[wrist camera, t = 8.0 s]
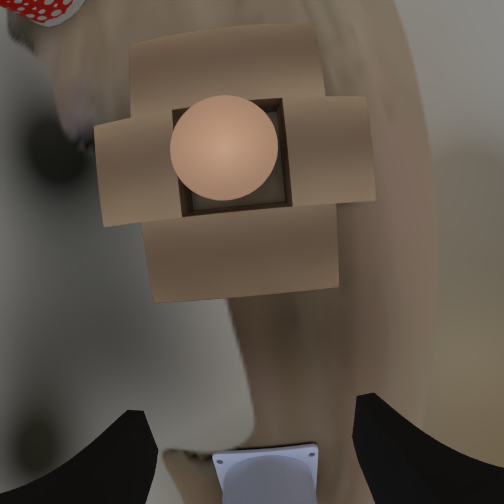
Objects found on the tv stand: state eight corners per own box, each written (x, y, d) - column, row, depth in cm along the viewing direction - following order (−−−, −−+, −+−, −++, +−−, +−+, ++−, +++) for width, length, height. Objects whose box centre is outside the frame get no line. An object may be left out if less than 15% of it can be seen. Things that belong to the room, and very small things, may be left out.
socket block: (358, 266, 18) (377, 282, 15) (136, 286, 18) (118, 305, 15) (338, 46, 15) (353, 25, 12) (114, 70, 16) (93, 54, 13)
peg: (269, 189, 17) (282, 195, 10) (204, 195, 17) (175, 206, 10) (263, 125, 16) (272, 90, 10) (198, 132, 17) (166, 103, 10)
